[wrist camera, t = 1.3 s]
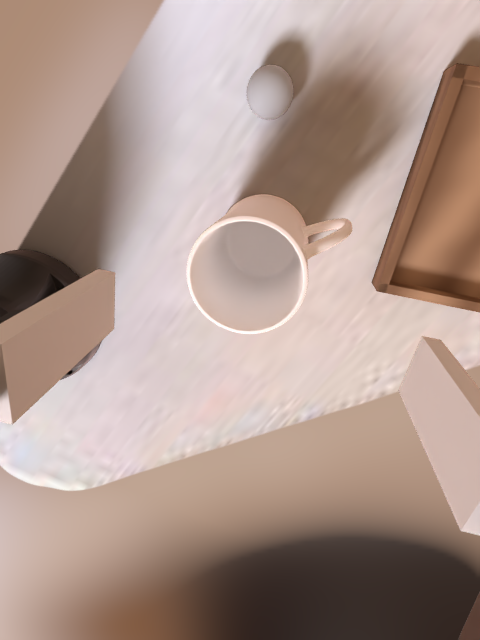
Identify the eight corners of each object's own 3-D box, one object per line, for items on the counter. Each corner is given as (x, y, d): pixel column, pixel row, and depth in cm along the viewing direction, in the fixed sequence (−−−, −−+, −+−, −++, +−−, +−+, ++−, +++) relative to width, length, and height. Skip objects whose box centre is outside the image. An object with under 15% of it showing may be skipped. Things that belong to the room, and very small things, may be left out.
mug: (334, 170, 31) (352, 177, 20) (351, 264, 34) (375, 314, 23) (207, 208, 34) (163, 232, 23) (233, 292, 37) (205, 347, 26)
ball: (246, 117, 30) (239, 112, 27) (253, 67, 29) (248, 55, 26) (288, 125, 30) (286, 121, 27) (298, 74, 29) (298, 63, 25)
